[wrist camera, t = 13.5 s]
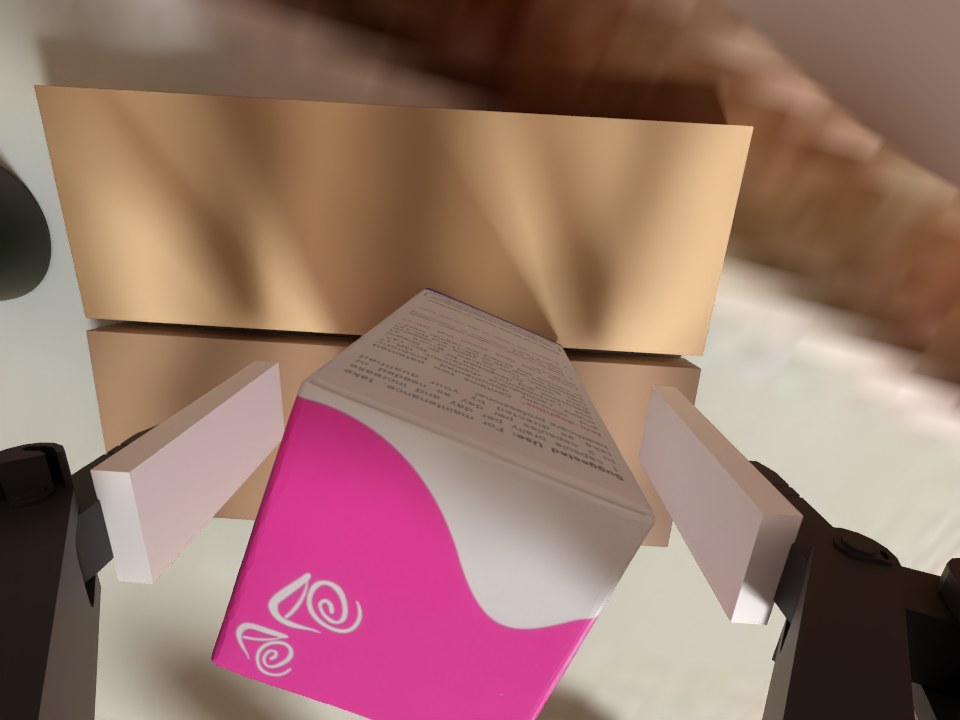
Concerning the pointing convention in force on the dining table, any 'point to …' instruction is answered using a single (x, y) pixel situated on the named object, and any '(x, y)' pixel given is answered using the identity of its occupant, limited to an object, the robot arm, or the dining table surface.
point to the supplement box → (434, 525)
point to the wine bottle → (21, 240)
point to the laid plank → (392, 214)
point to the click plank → (222, 353)
